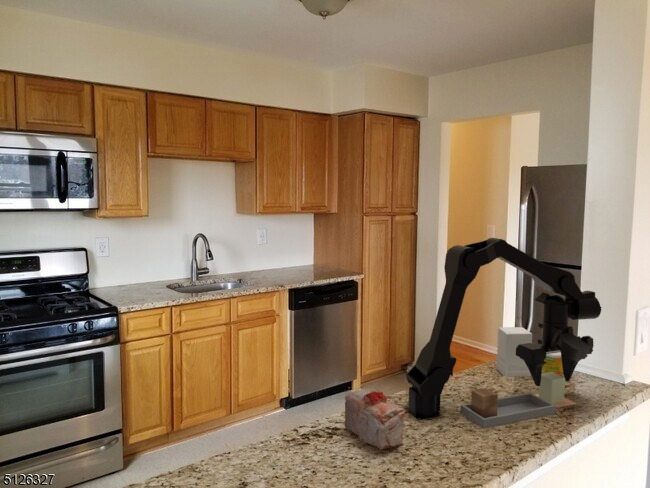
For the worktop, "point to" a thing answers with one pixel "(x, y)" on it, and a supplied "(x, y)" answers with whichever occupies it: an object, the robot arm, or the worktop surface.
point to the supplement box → (512, 351)
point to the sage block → (552, 387)
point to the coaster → (561, 404)
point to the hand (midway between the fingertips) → (552, 383)
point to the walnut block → (484, 402)
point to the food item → (374, 419)
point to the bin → (512, 410)
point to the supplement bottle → (553, 364)
